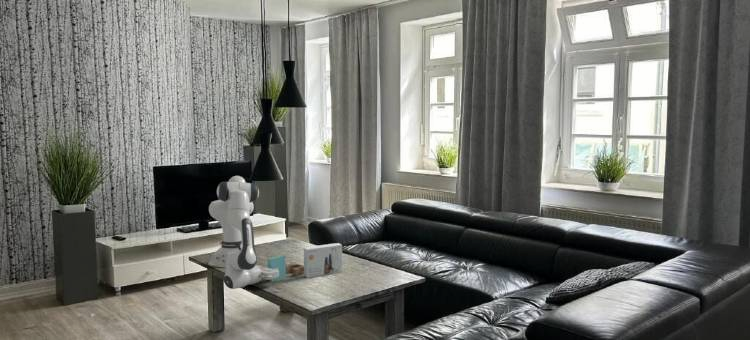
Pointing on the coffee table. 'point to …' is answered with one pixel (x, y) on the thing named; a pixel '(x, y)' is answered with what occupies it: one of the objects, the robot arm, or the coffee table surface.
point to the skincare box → (322, 260)
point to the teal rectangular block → (278, 266)
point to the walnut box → (295, 269)
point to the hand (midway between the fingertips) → (274, 268)
